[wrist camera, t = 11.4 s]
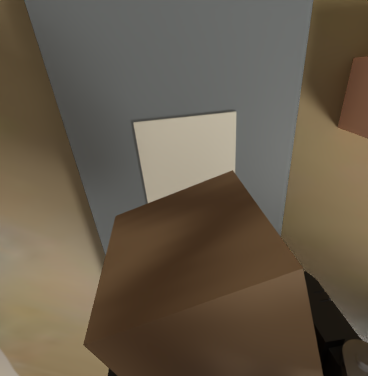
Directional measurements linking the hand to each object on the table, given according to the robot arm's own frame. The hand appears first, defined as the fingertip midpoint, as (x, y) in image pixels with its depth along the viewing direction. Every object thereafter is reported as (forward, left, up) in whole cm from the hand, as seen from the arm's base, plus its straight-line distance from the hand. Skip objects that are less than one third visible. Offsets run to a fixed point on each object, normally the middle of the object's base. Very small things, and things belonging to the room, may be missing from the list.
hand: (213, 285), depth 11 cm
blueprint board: (0, +5, -10) cm, 12 cm away
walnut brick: (0, 0, -1) cm, 1 cm away
